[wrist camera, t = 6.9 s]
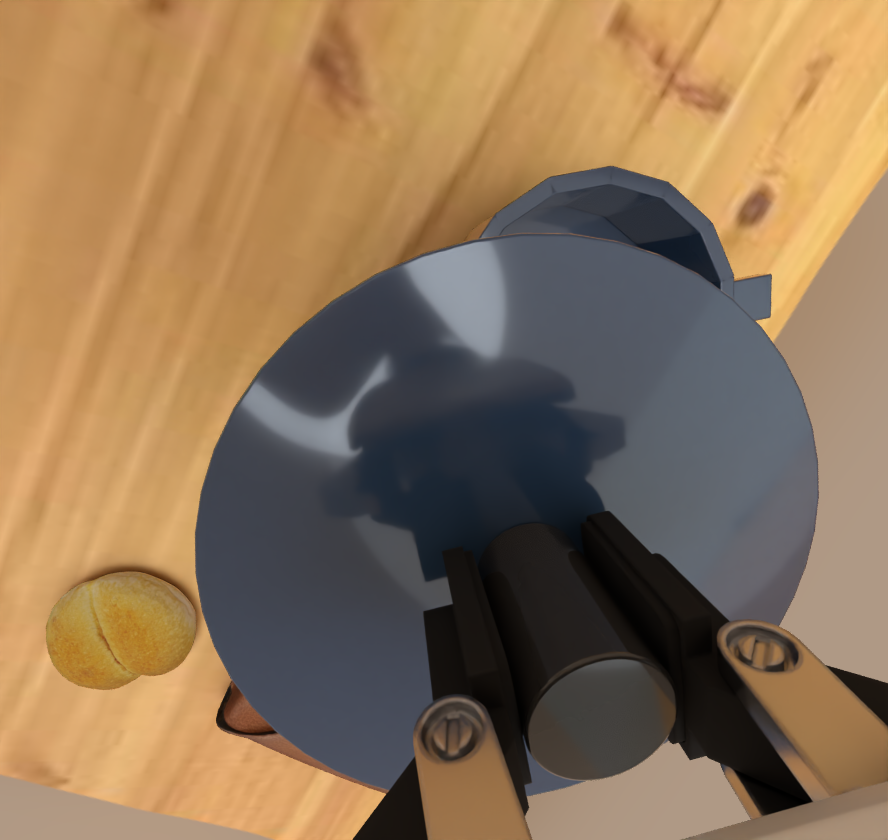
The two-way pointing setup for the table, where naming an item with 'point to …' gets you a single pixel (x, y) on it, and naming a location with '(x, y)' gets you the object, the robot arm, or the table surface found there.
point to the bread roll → (119, 630)
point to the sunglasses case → (263, 731)
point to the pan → (630, 225)
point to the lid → (498, 494)
